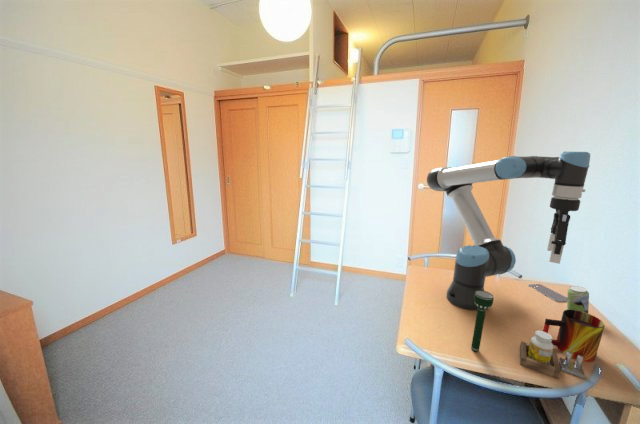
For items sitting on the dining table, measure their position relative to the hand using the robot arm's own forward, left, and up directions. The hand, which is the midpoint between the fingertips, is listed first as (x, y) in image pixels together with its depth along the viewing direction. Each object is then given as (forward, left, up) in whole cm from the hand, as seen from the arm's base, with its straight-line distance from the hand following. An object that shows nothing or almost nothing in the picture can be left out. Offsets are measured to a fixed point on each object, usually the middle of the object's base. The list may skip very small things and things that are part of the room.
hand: (552, 256), depth 98 cm
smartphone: (+5, +31, -27) cm, 41 cm away
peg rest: (+7, -23, -27) cm, 36 cm away
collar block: (-1, -26, -27) cm, 37 cm away
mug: (+7, -14, -27) cm, 31 cm away
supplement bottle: (-1, -26, -27) cm, 37 cm away
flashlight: (-18, -31, -27) cm, 45 cm away
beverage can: (+12, +14, -27) cm, 33 cm away
